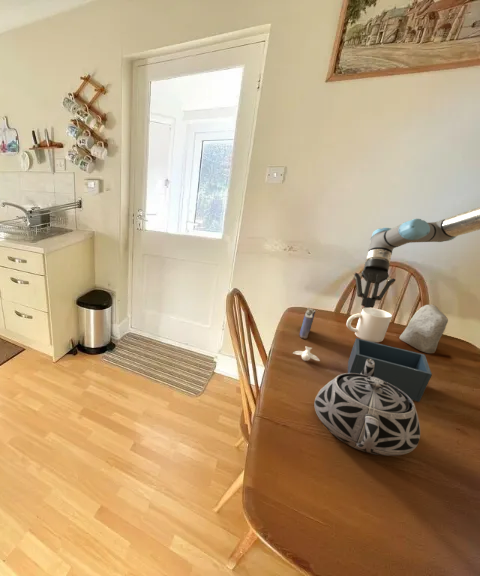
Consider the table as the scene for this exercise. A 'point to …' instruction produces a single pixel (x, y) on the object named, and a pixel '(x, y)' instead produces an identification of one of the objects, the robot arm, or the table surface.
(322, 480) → the table surface
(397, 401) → the teapot
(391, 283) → the robot arm
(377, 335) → the mug
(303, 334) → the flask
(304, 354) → the toy bird
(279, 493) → the table surface
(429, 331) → the decorative stone
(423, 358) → the box
